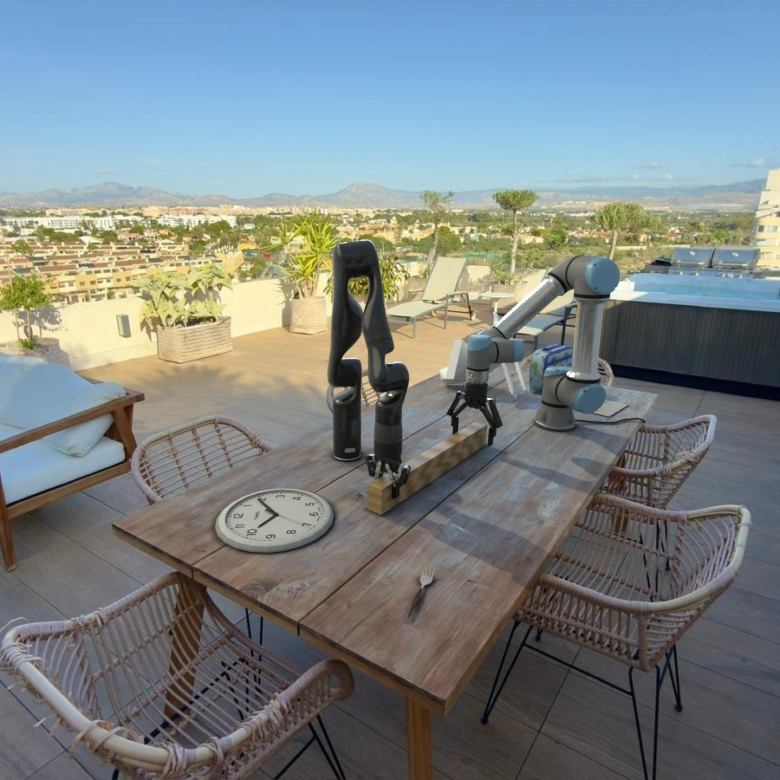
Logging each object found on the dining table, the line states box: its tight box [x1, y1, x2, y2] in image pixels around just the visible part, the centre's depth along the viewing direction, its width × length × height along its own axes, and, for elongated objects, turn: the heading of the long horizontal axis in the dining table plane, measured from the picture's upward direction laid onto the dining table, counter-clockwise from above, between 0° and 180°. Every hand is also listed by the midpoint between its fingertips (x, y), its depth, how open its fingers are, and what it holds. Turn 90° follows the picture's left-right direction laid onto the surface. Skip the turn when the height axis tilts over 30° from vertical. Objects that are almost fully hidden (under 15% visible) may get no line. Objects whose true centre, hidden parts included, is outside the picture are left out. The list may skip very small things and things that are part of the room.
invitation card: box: [592, 398, 629, 418], centre depth 226 cm, size 21×1×15 cm
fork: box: [407, 563, 436, 618], centre depth 108 cm, size 3×16×2 cm, turn 160°
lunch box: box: [528, 344, 573, 393], centre depth 247 cm, size 26×11×21 cm, turn 134°
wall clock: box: [214, 488, 335, 554], centre depth 135 cm, size 30×2×30 cm
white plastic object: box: [438, 310, 531, 400], centre depth 245 cm, size 37×45×31 cm
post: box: [367, 421, 488, 516], centre depth 162 cm, size 60×5×8 cm, turn 143°
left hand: (387, 494), depth 143 cm, fingers closed on post, 4 cm apart
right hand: (472, 440), depth 181 cm, fingers open, 13 cm apart
